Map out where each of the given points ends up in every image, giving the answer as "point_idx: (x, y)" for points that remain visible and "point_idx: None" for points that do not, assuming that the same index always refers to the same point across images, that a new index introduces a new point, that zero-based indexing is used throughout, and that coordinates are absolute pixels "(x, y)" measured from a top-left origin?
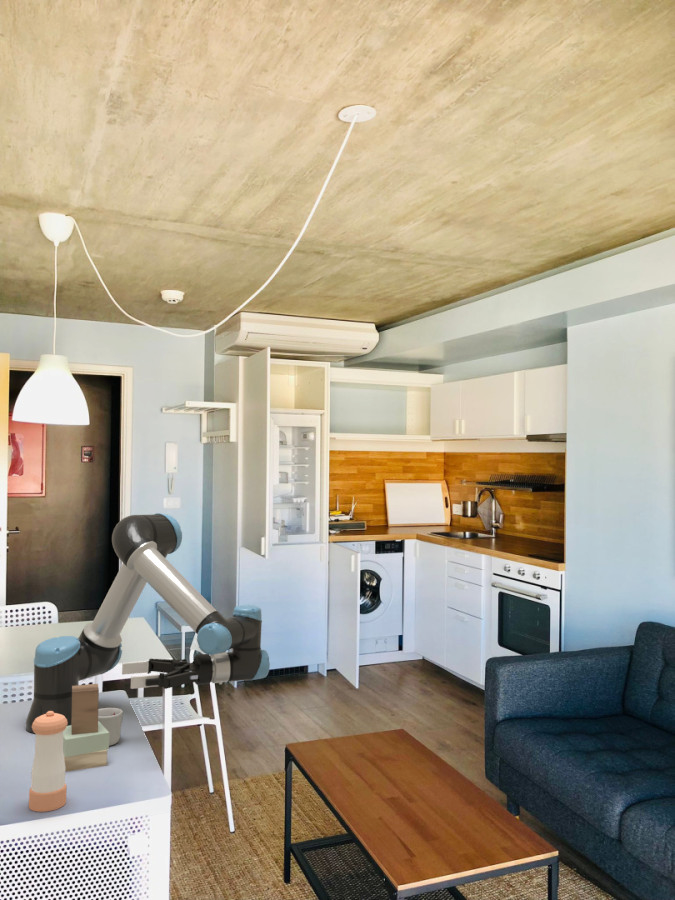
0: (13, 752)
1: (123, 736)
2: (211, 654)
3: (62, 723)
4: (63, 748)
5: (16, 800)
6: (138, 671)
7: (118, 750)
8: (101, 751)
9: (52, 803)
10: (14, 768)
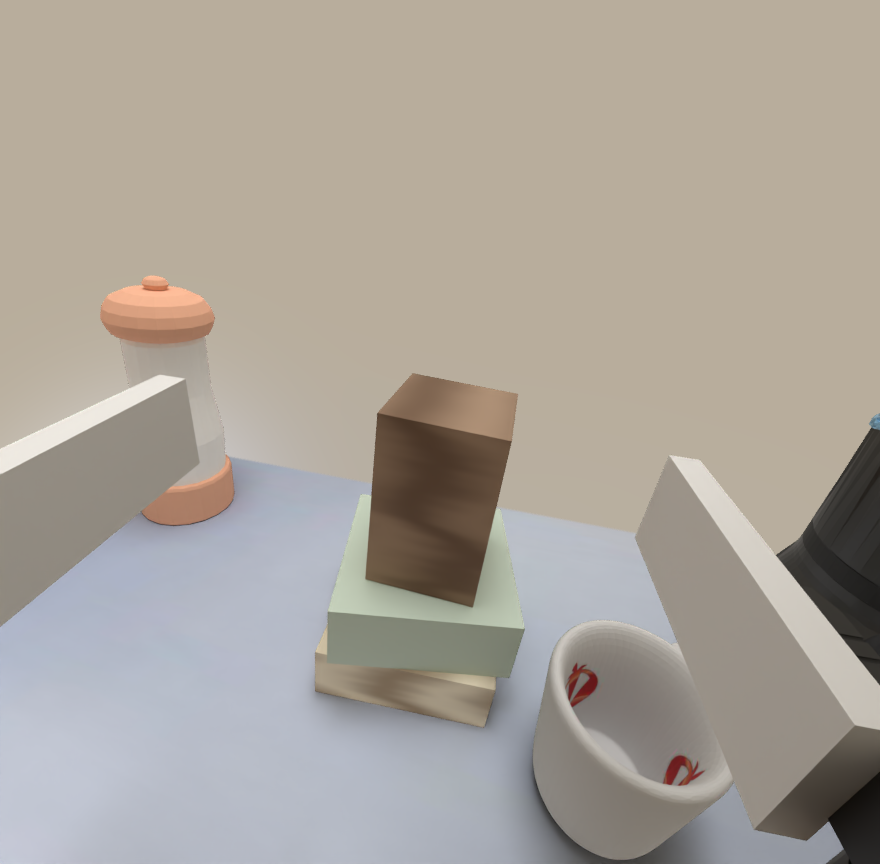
0: (574, 529)
1: None
2: None
3: (101, 307)
4: None
5: (271, 474)
6: (700, 657)
7: (466, 808)
8: (324, 631)
9: None
10: None
